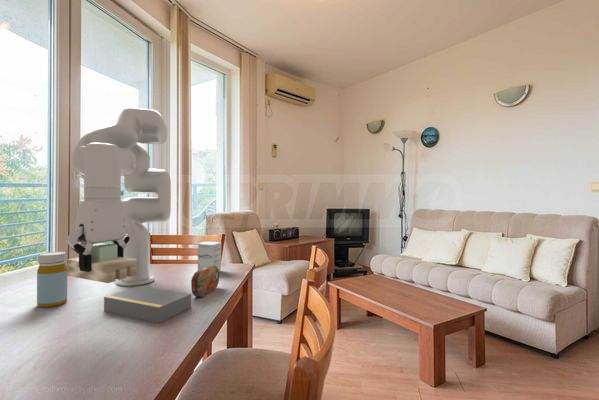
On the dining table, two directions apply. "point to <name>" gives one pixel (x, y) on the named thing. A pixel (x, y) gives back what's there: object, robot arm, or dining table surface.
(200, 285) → the tin
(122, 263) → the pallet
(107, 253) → the box
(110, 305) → the dock
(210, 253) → the supplement box
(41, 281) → the bottle
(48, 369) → the dining table surface
